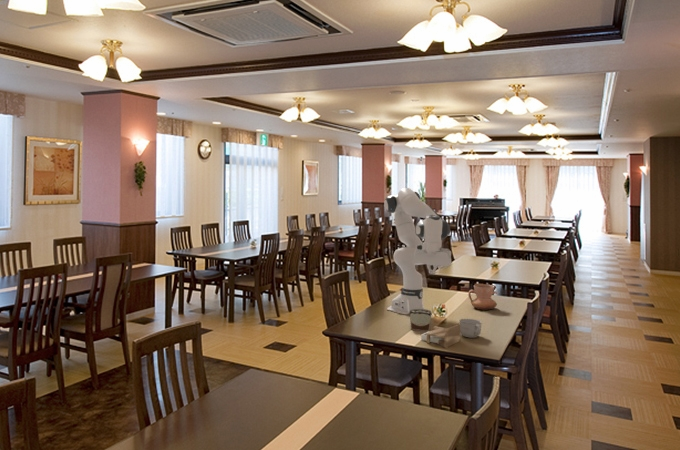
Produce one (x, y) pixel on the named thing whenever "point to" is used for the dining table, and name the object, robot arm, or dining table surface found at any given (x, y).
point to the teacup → (470, 327)
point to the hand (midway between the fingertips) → (431, 273)
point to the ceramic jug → (483, 297)
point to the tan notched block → (446, 335)
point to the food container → (420, 319)
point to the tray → (431, 338)
